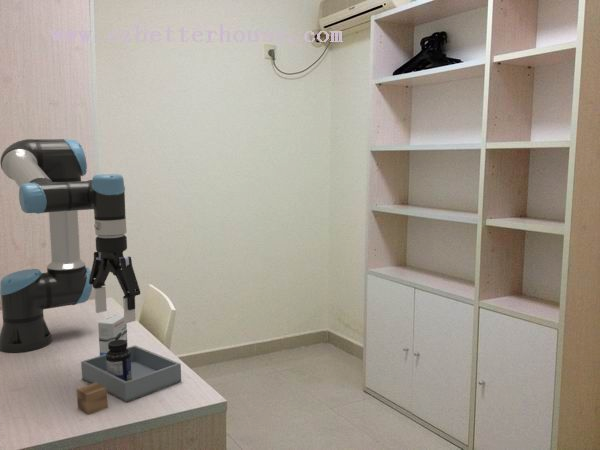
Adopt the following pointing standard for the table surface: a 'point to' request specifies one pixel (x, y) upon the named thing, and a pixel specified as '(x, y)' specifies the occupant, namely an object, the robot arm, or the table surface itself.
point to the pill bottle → (119, 360)
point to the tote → (134, 374)
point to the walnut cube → (92, 398)
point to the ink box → (111, 331)
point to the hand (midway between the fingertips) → (115, 316)
